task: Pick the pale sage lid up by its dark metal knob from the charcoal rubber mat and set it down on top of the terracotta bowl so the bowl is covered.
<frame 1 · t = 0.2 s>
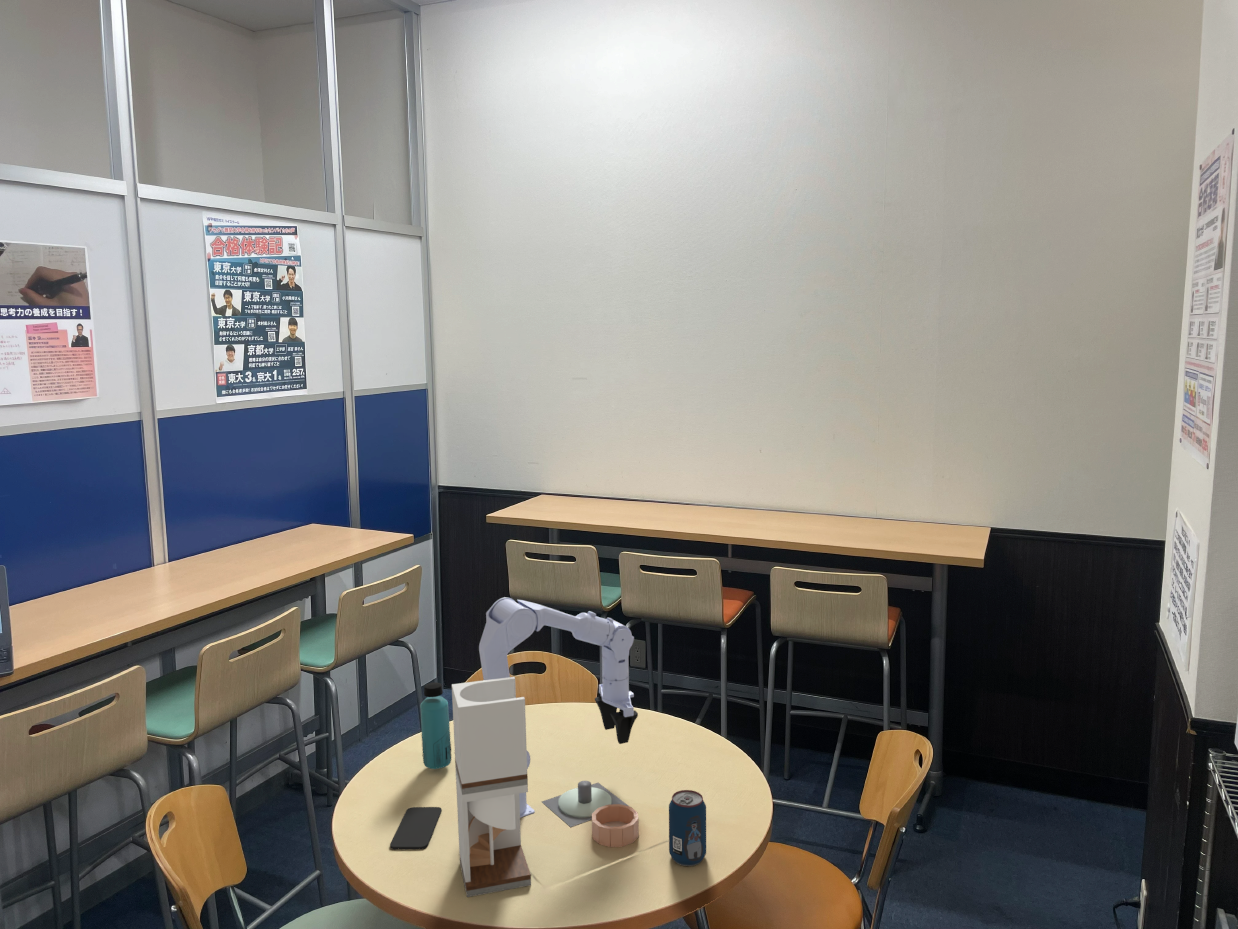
hand: (616, 735, 199), 10 cm above the table, fingers open, 7 cm apart
mat: (585, 805, 189), on the table
lid: (585, 803, 189), resting on mat
phone: (417, 830, 181), on the table
coffee maker: (494, 875, 166), on the table
bowl: (615, 835, 178), on the table
beverage bottle: (437, 769, 206), on the table
soda can: (687, 858, 170), on the table
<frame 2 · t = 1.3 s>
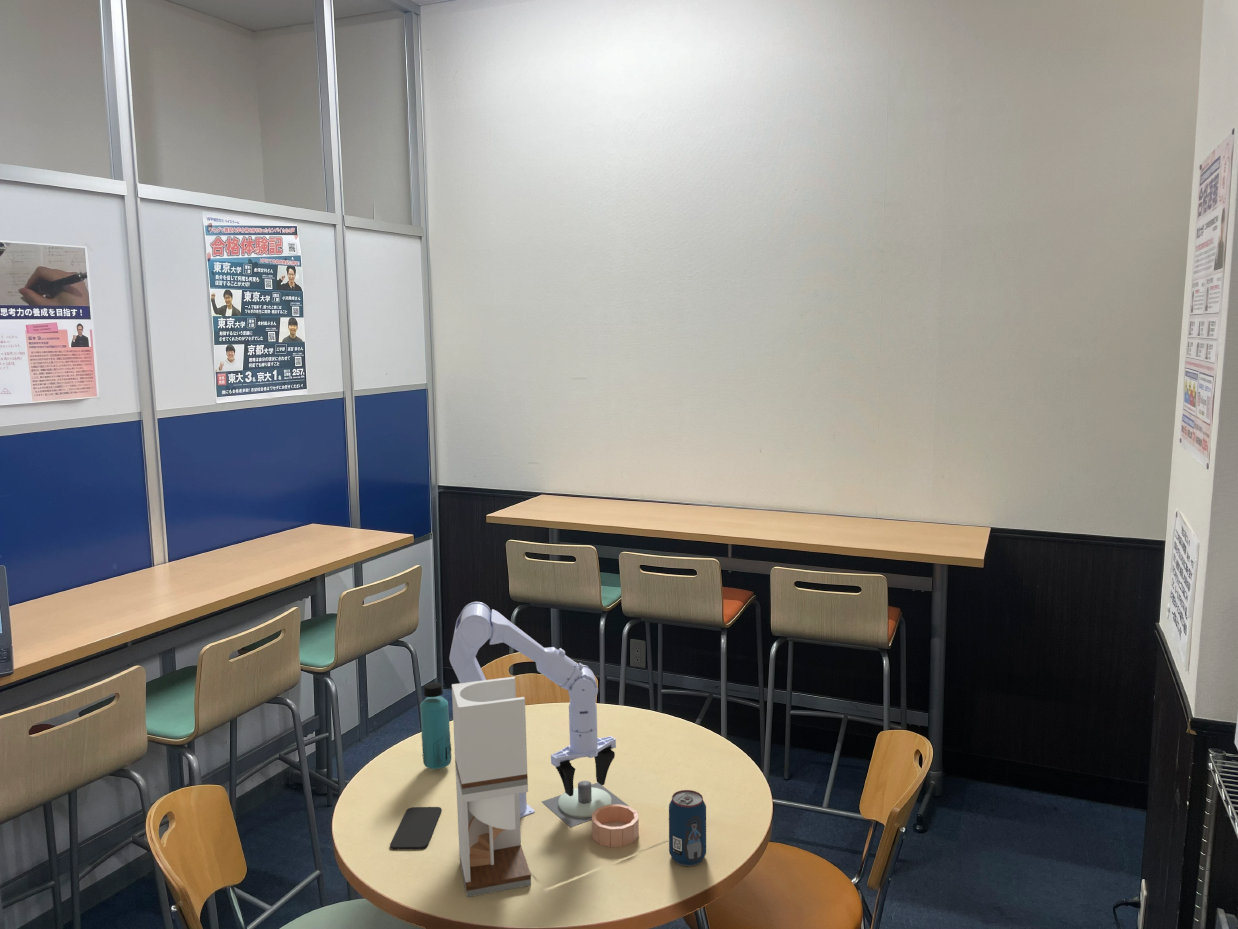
hand: (585, 788, 188), 4 cm above the table, fingers open, 7 cm apart
nothing on the table moved.
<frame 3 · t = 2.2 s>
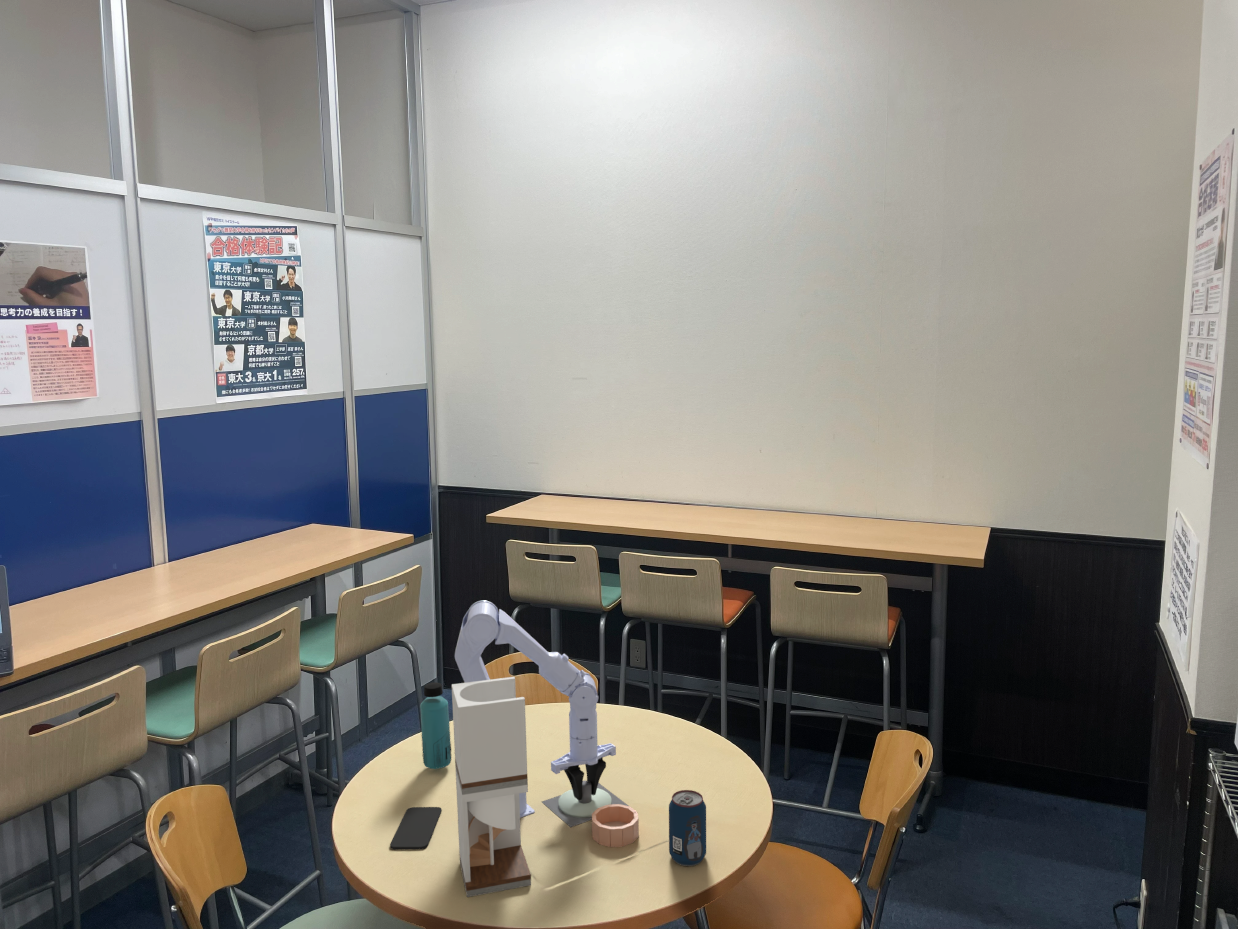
hand: (584, 795, 188), 2 cm above the table, fingers closed on lid, 3 cm apart
lid: (585, 803, 189), resting on mat, touching gripper
everything else where it was.
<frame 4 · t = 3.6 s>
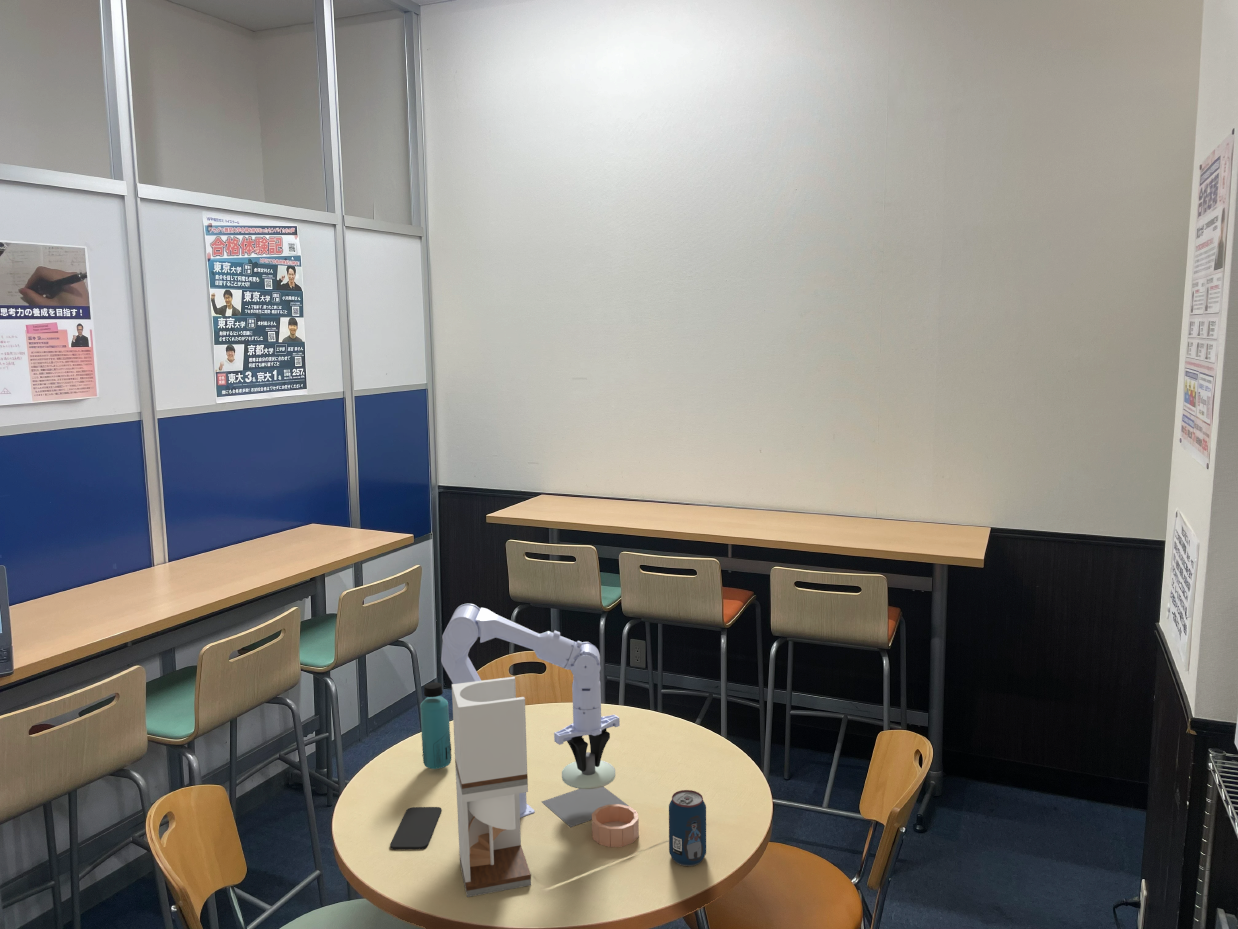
hand: (588, 767, 186), 9 cm above the table, fingers closed on lid, 3 cm apart
lid: (588, 775, 186), point 7 cm above the table, touching gripper
everything else where it was.
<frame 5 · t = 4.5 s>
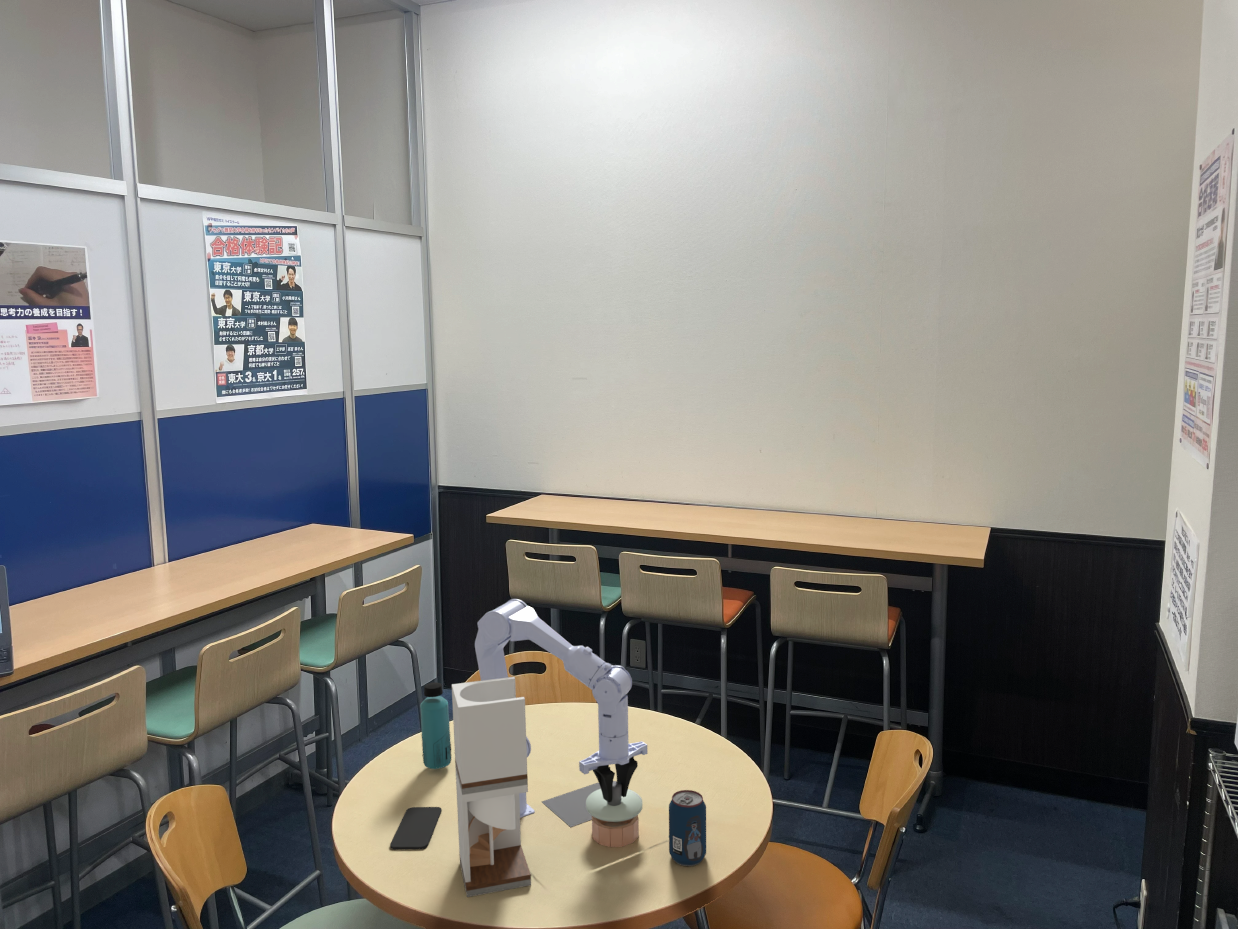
hand: (614, 797, 176), 8 cm above the table, fingers closed on lid, 3 cm apart
lid: (614, 805, 177), point 6 cm above the table, touching gripper
everything else where it was.
when the fingers open (7 cm above the table, at t = 4.9 s): lid stays where it is, resting on bowl.
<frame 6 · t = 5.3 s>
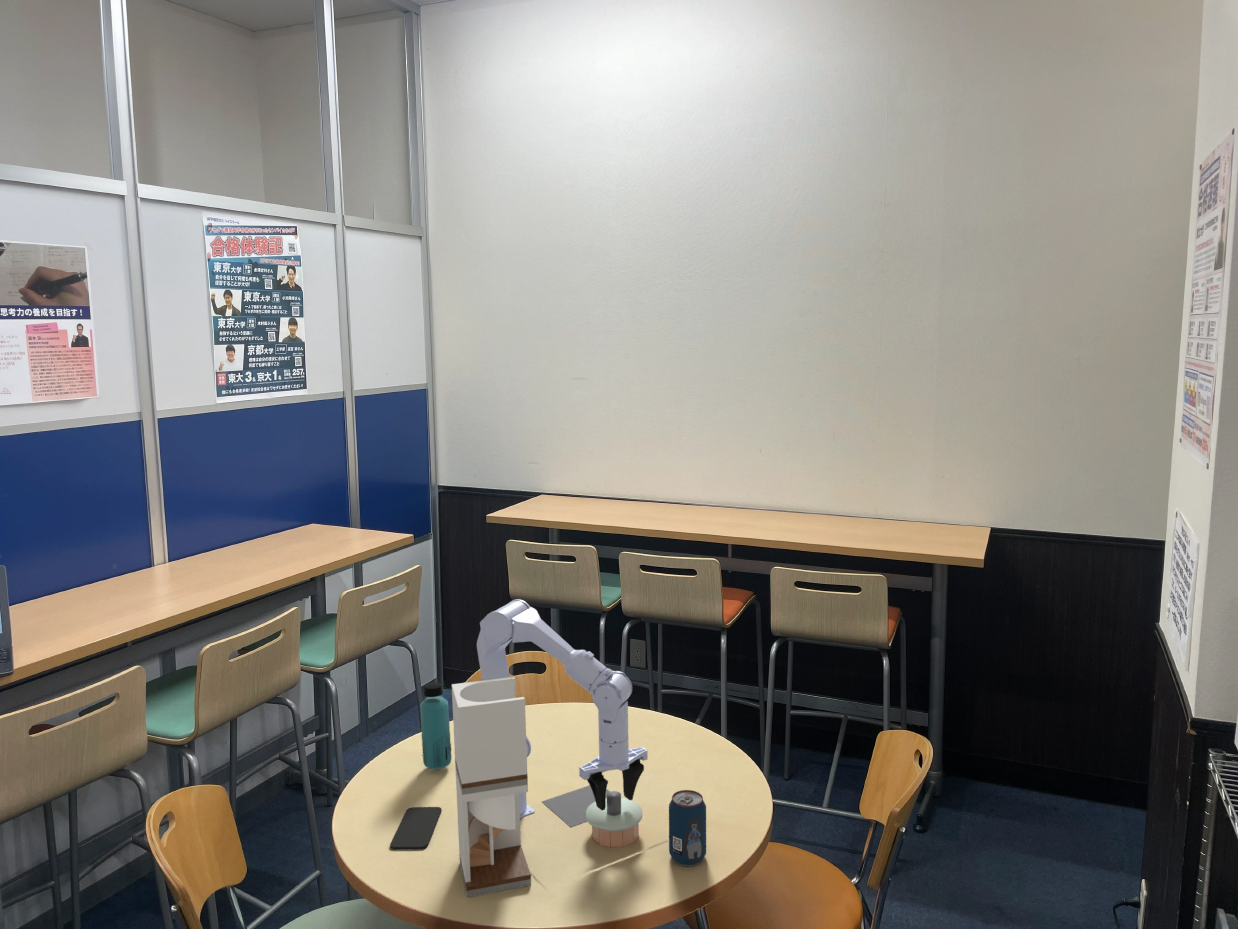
hand: (614, 803, 177), 7 cm above the table, fingers open, 6 cm apart
lid: (614, 815, 177), point 4 cm above the table, touching bowl
everything else where it was.
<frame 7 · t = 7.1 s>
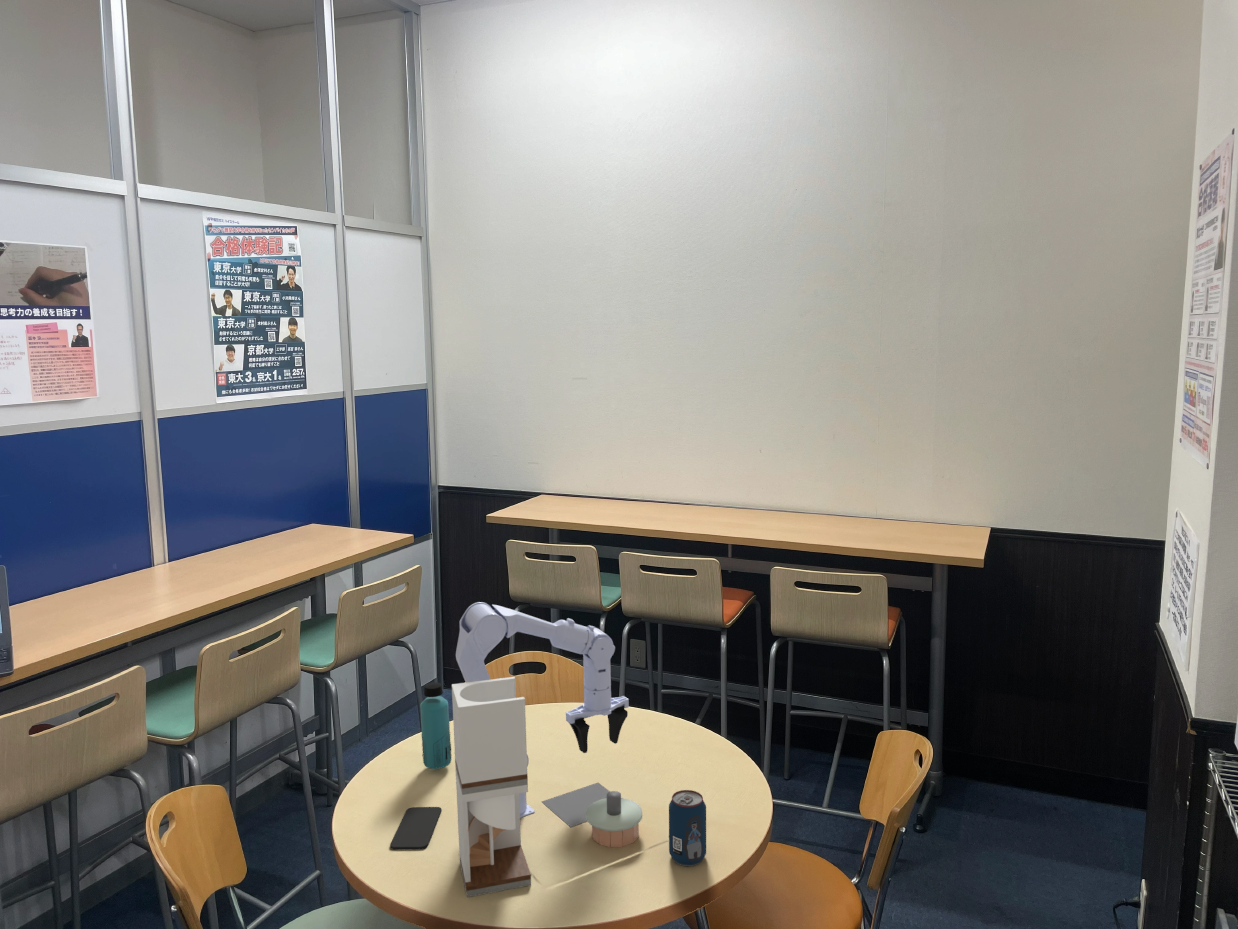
hand: (598, 746, 194), 10 cm above the table, fingers open, 7 cm apart
nothing on the table moved.
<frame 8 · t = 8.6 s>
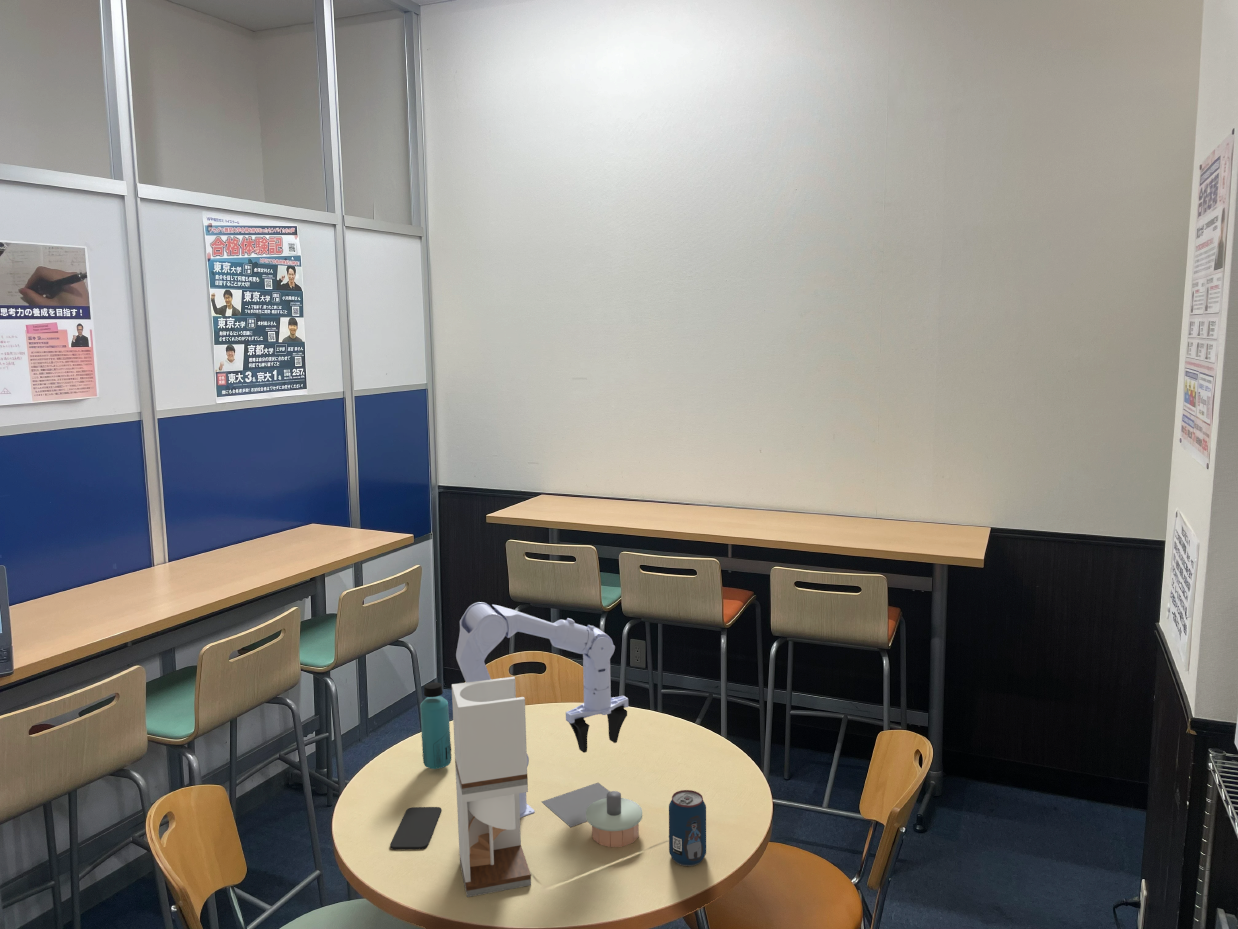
hand: (598, 746, 194), 10 cm above the table, fingers open, 7 cm apart
nothing on the table moved.
at the end: lid 0.3 cm off-centre on the bowl, point 4.0 cm above the bowl's base; lid tilted 0°; the gripper is holding nothing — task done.
